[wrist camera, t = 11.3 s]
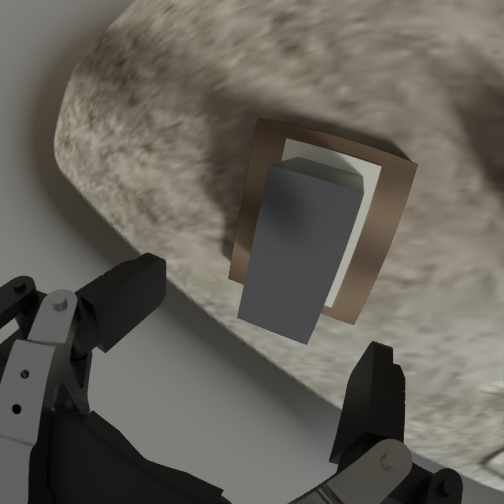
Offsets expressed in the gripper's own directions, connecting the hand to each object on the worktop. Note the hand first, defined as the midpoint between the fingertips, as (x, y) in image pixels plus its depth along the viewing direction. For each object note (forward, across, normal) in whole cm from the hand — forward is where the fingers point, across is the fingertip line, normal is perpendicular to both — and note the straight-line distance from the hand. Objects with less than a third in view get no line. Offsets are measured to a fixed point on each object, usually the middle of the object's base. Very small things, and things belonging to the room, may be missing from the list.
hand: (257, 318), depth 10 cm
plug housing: (+11, 0, 0) cm, 11 cm away
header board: (+13, 0, 0) cm, 13 cm away
